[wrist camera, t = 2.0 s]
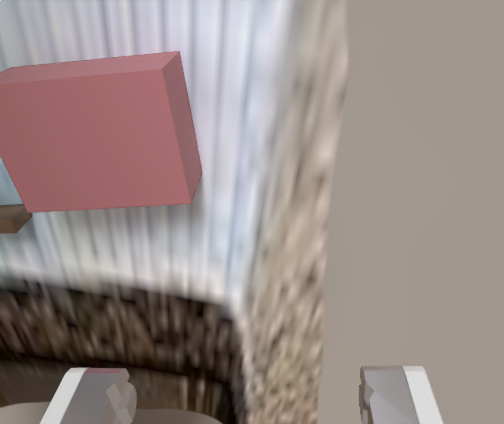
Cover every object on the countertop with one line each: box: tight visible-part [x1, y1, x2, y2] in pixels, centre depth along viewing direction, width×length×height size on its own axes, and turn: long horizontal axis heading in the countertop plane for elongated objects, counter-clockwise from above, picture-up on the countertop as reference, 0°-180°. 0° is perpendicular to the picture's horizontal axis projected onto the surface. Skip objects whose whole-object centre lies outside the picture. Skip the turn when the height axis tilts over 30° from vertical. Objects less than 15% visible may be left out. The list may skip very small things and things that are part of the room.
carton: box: [0, 51, 202, 213], centre depth 28 cm, size 9×12×5 cm
